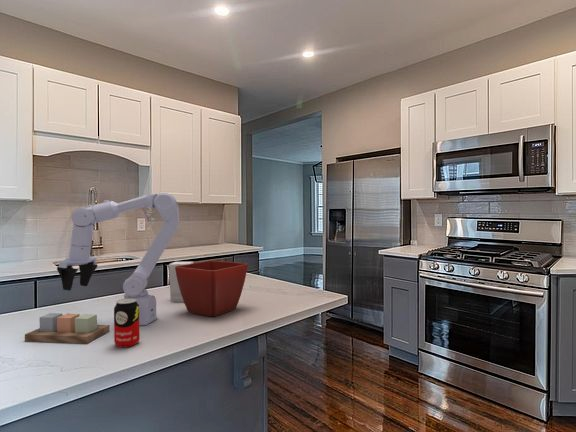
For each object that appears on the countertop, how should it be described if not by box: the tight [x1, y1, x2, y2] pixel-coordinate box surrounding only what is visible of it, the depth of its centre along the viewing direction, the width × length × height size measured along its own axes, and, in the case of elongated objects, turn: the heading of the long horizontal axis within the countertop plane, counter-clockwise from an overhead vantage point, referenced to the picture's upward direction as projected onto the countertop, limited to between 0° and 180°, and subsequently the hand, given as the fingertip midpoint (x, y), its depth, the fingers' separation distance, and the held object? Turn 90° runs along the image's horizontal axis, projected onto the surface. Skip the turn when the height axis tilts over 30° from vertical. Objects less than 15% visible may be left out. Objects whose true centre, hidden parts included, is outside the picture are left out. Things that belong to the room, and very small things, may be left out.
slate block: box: [39, 312, 64, 332], centre depth 105 cm, size 4×4×4 cm
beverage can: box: [113, 298, 141, 348], centre depth 98 cm, size 6×6×12 cm
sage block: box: [75, 313, 98, 333], centre depth 104 cm, size 4×4×4 cm
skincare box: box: [168, 261, 194, 303], centre depth 145 cm, size 8×7×16 cm
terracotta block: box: [57, 313, 81, 333], centre depth 104 cm, size 4×4×4 cm
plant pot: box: [175, 260, 248, 317], centre depth 130 cm, size 19×19×17 cm
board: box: [24, 324, 111, 345], centre depth 104 cm, size 19×10×2 cm, turn 84°
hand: (75, 287), depth 113 cm, fingers open, 7 cm apart
